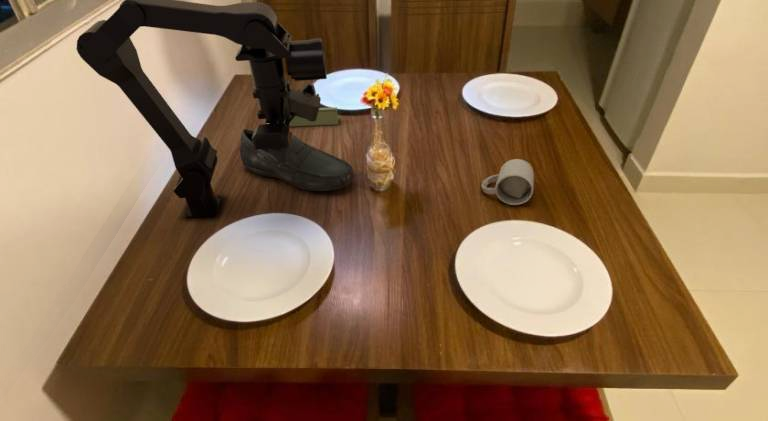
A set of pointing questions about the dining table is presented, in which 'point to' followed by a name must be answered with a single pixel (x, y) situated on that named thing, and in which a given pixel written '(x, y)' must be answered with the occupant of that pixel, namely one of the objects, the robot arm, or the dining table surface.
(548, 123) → the dining table surface
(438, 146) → the dining table surface
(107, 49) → the robot arm
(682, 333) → the dining table surface
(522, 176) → the ceramic mug
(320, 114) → the rail
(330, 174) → the loafer
